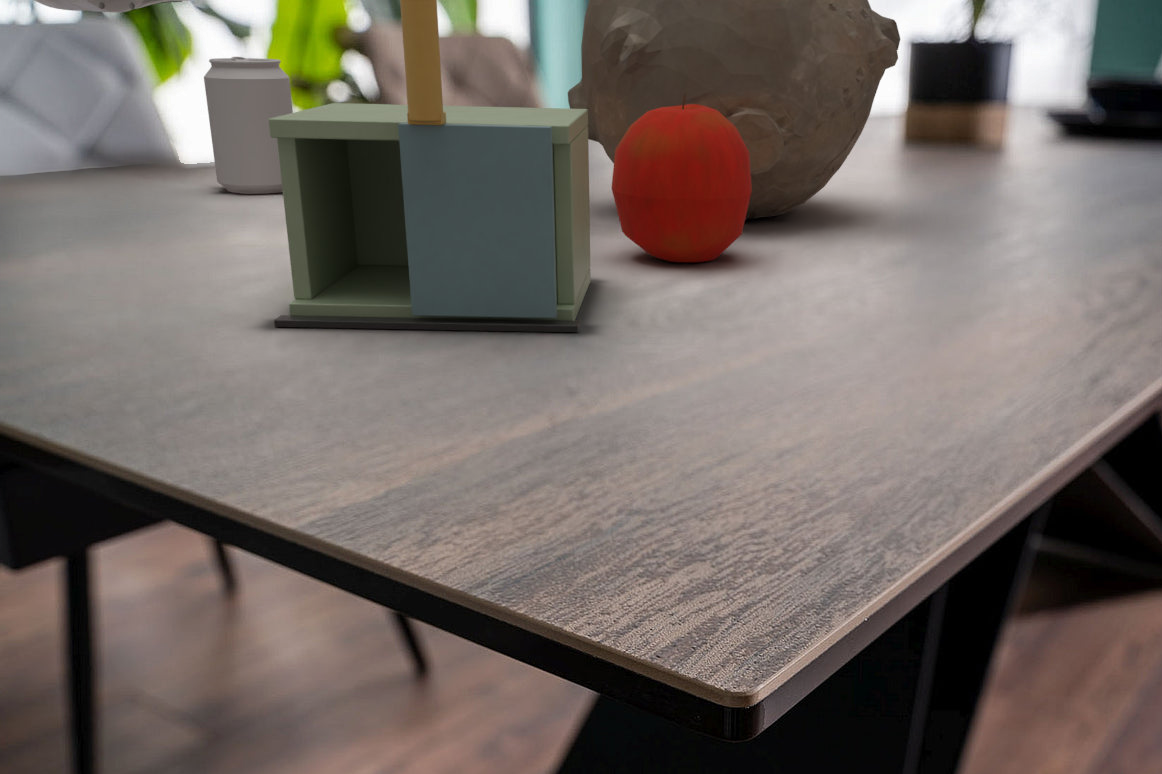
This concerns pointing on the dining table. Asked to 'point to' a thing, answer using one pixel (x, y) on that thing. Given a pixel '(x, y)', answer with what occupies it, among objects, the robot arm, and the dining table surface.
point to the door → (471, 198)
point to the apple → (682, 183)
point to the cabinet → (403, 216)
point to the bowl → (742, 79)
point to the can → (246, 121)
